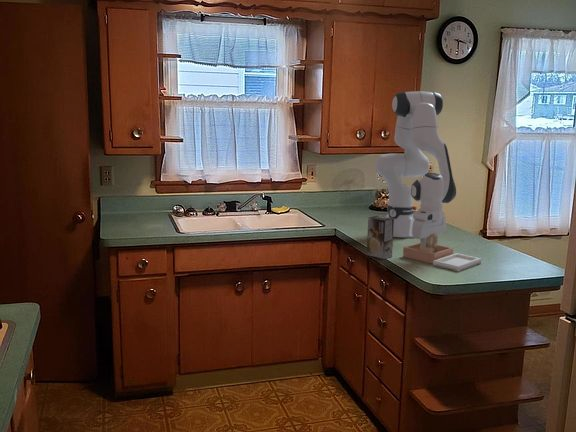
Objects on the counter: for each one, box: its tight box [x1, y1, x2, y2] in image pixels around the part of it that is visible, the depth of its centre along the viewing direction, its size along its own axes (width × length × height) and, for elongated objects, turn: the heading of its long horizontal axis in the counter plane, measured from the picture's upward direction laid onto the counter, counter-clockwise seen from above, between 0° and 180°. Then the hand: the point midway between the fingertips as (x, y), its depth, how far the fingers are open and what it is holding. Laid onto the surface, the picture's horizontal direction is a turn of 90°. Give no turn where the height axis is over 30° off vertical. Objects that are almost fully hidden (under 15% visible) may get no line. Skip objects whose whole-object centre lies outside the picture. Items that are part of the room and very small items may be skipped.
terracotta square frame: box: [402, 242, 454, 264], centre depth 246 cm, size 15×15×4 cm
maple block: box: [419, 233, 439, 253], centre depth 245 cm, size 5×5×10 cm
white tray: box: [432, 252, 482, 272], centre depth 236 cm, size 18×11×2 cm, turn 135°
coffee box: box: [366, 215, 394, 260], centre depth 245 cm, size 9×6×16 cm
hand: (428, 246), depth 245 cm, fingers closed on maple block, 5 cm apart
